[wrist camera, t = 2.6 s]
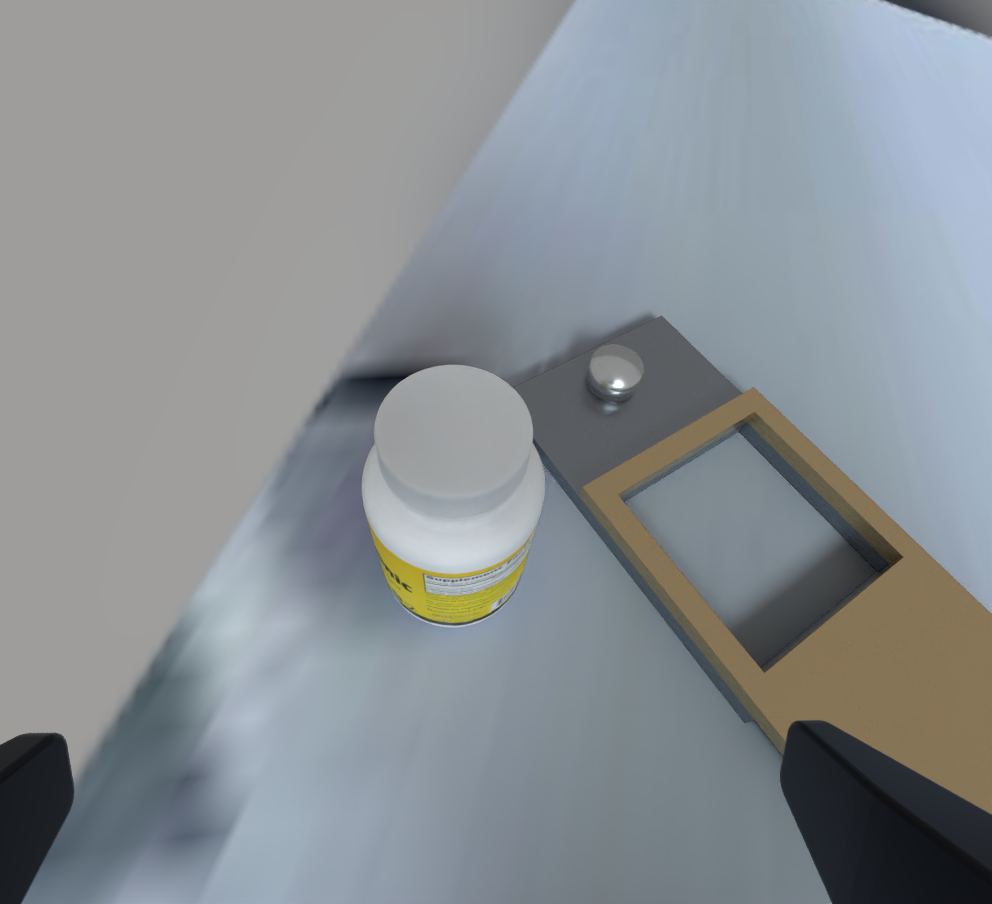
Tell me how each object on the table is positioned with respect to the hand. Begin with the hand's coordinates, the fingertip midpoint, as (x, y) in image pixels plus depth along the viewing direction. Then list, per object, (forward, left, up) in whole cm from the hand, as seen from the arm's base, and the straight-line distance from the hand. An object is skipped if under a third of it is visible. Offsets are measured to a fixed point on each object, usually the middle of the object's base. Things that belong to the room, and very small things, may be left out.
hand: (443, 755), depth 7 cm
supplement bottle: (-4, -6, -14) cm, 16 cm away
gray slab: (-15, -1, -13) cm, 20 cm away
